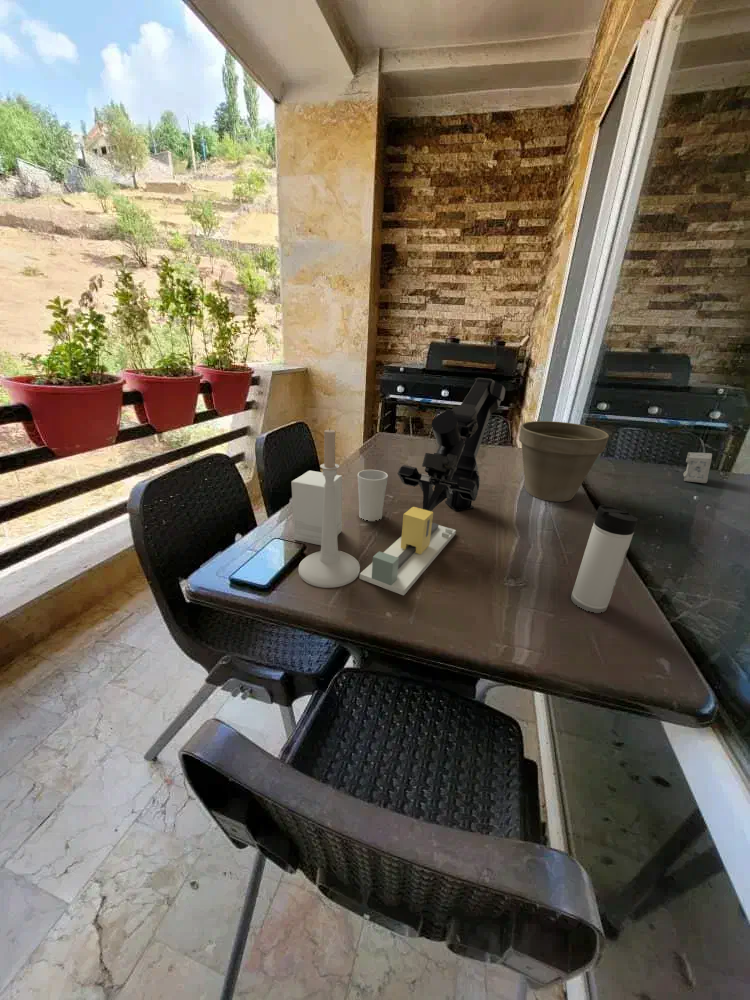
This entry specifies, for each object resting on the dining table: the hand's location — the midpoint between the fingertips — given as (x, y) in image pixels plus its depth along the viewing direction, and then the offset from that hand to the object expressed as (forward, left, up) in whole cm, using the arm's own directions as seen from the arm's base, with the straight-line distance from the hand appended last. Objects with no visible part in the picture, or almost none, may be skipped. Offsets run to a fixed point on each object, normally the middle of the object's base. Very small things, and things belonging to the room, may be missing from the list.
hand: (424, 514), depth 89 cm
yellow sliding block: (+3, +2, -7) cm, 8 cm away
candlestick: (+23, +4, -8) cm, 25 cm away
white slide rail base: (+4, +3, -8) cm, 10 cm away
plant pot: (-56, -20, -8) cm, 60 cm away
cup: (+6, -18, -8) cm, 21 cm away
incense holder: (-124, -17, -8) cm, 126 cm away
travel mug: (-22, +29, -8) cm, 37 cm away
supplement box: (+22, -11, -8) cm, 26 cm away
